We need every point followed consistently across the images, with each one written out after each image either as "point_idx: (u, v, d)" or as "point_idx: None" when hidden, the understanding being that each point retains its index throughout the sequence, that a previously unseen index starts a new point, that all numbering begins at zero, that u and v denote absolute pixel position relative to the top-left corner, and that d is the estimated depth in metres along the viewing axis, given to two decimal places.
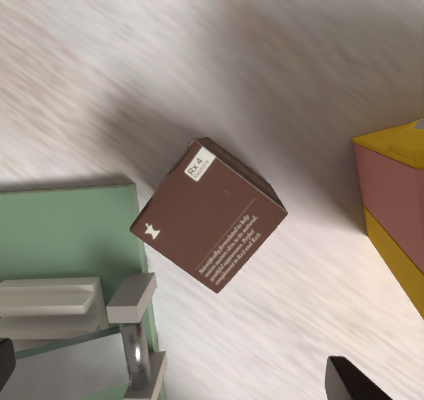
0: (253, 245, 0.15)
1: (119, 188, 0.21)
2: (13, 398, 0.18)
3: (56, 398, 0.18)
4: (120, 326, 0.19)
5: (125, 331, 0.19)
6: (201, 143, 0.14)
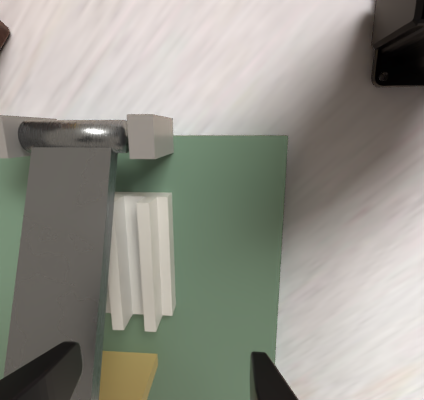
0: None
1: None
2: (68, 292, 0.13)
3: (93, 243, 0.13)
4: (23, 147, 0.14)
5: (25, 139, 0.14)
6: None
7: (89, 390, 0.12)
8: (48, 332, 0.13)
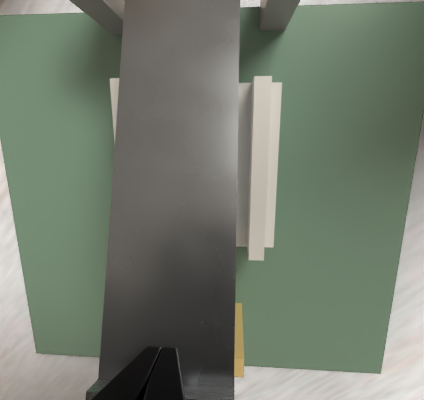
0: None
1: None
2: (192, 170, 0.09)
3: (223, 102, 0.09)
4: None
5: None
6: None
7: (232, 300, 0.08)
8: (166, 223, 0.09)
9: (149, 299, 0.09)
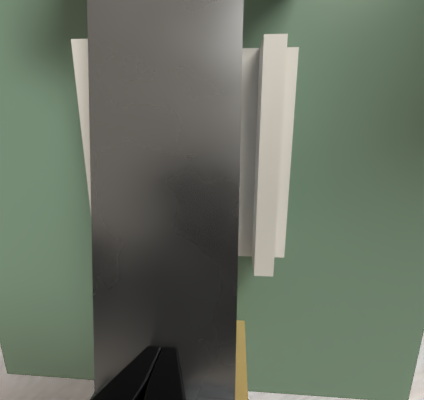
0: None
1: None
2: (185, 170, 0.07)
3: (222, 82, 0.07)
4: None
5: None
6: None
7: (233, 318, 0.08)
8: (157, 234, 0.08)
9: (142, 316, 0.08)
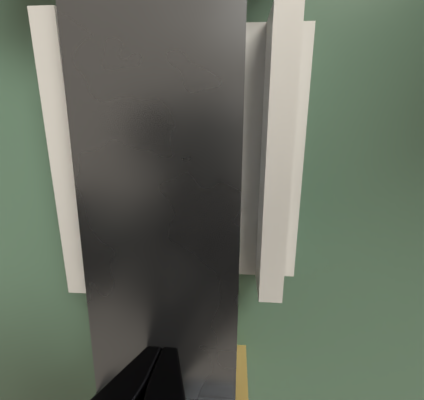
0: None
1: None
2: (180, 175, 0.07)
3: (222, 71, 0.06)
4: None
5: None
6: None
7: (234, 327, 0.07)
8: (152, 243, 0.07)
9: (139, 323, 0.08)
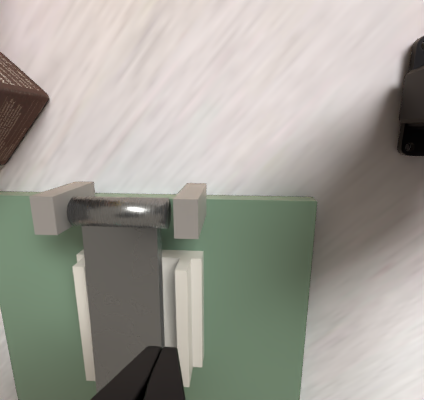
0: None
1: None
2: (136, 342, 0.16)
3: (151, 307, 0.16)
4: (73, 225, 0.15)
5: (75, 221, 0.15)
6: None
7: None
8: None
9: None
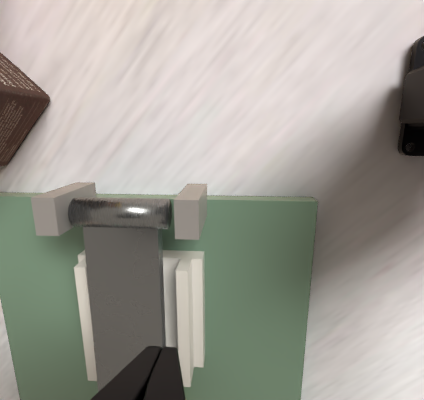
0: None
1: None
2: (137, 343, 0.16)
3: (152, 308, 0.16)
4: (74, 226, 0.15)
5: (76, 222, 0.15)
6: None
7: None
8: None
9: None
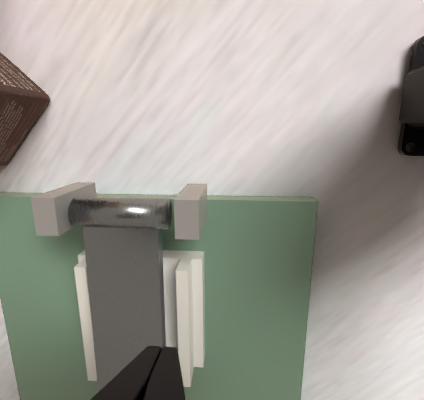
0: None
1: None
2: (137, 343, 0.16)
3: (152, 308, 0.16)
4: (74, 226, 0.15)
5: (76, 222, 0.15)
6: None
7: None
8: None
9: None
